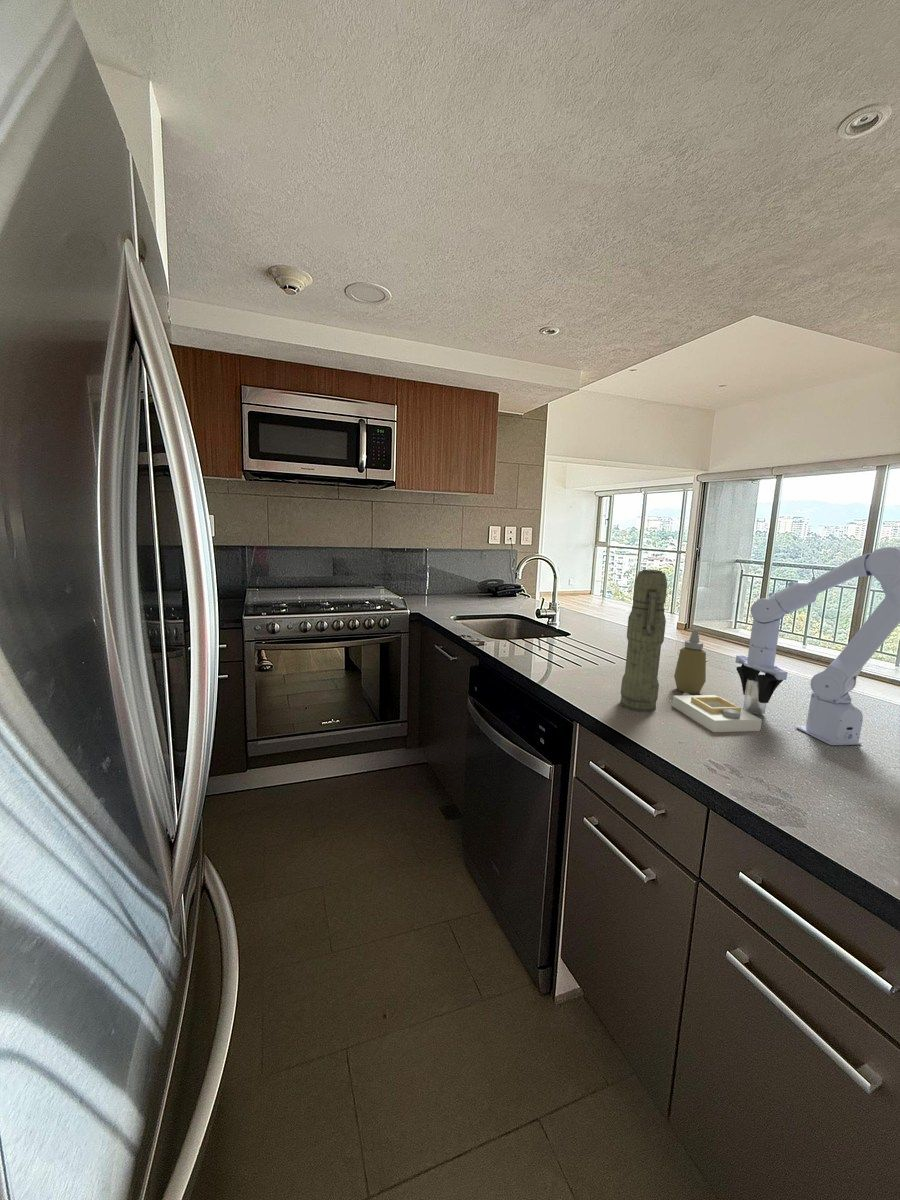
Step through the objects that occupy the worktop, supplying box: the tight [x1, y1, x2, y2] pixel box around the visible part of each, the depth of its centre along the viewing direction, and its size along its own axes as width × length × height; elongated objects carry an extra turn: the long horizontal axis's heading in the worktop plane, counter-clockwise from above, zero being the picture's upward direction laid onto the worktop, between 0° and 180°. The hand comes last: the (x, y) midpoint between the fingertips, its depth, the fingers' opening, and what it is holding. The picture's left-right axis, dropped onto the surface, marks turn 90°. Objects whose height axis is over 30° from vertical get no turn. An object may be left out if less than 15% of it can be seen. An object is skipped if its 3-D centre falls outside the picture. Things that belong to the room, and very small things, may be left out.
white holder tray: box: [671, 692, 763, 733], centre depth 122 cm, size 20×12×4 cm, turn 8°
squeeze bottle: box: [673, 628, 707, 695], centre depth 139 cm, size 8×8×18 cm
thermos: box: [620, 569, 668, 713], centre depth 125 cm, size 9×12×35 cm
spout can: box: [742, 676, 767, 716], centre depth 124 cm, size 5×5×9 cm
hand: (755, 698), depth 124 cm, fingers closed on spout can, 5 cm apart
